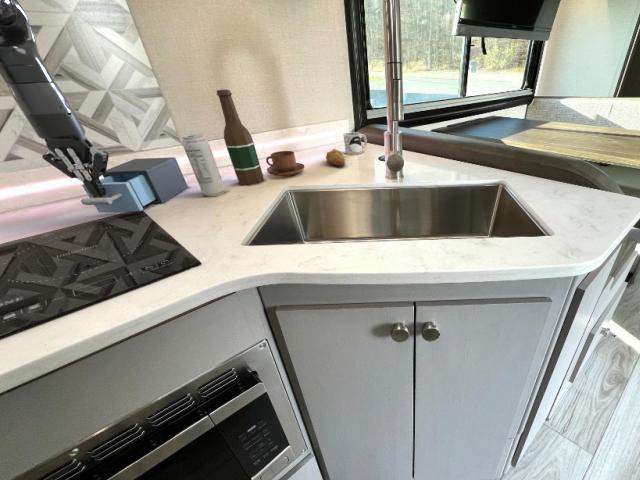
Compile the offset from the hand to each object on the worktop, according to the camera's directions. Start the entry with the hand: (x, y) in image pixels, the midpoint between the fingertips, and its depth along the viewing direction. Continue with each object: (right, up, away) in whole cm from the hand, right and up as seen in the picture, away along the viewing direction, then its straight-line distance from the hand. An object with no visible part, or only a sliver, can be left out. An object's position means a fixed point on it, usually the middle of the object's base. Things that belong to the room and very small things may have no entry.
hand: (100, 195), depth 73 cm
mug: (+53, +35, +53) cm, 83 cm away
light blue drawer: (0, 0, +8) cm, 8 cm away
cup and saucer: (+33, +18, +31) cm, 48 cm away
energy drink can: (+17, +6, +17) cm, 25 cm away
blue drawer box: (0, +6, +17) cm, 18 cm away
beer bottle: (+24, +12, +25) cm, 37 cm away
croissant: (+47, +24, +39) cm, 66 cm away
